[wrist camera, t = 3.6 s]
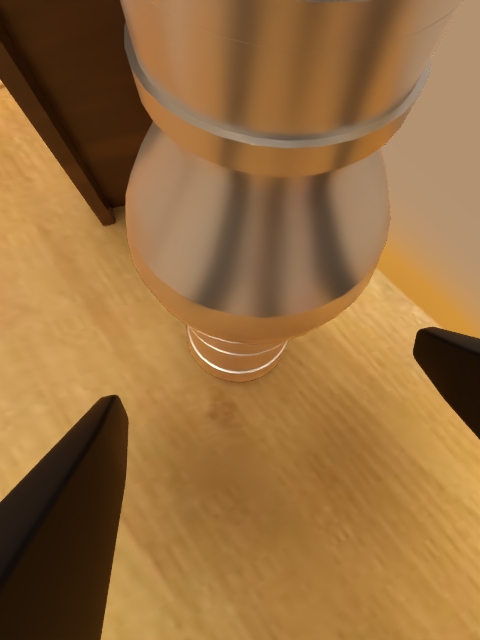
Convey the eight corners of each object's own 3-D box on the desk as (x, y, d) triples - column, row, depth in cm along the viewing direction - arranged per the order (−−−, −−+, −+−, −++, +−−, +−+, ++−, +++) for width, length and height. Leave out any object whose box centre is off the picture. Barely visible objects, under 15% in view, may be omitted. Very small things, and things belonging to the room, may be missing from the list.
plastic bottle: (192, 300, 22) (-27, -333, 3) (279, 299, 23) (563, -285, 3) (190, 385, 21) (-365, 112, 1) (284, 384, 21) (939, 143, 2)
